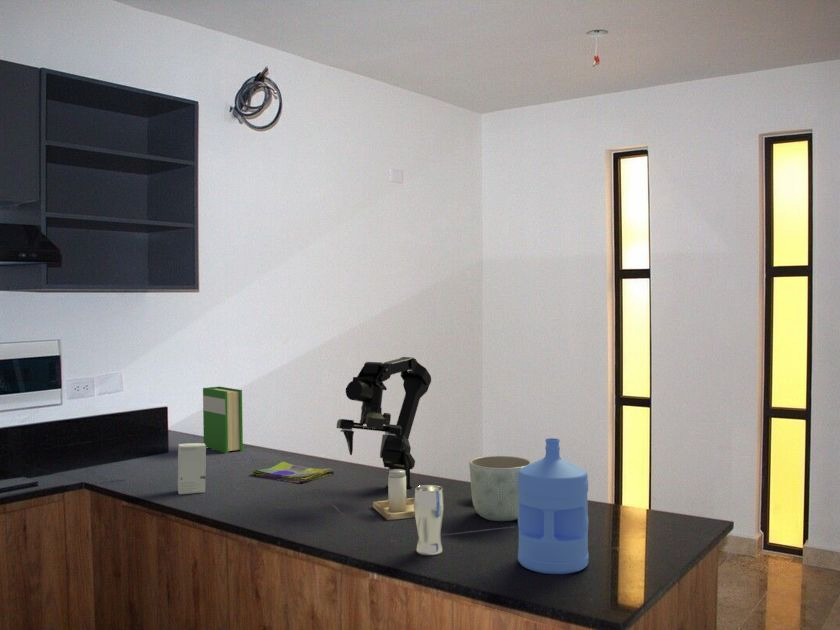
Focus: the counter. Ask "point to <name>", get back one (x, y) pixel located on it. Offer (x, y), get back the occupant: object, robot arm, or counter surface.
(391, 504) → the ball
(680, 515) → the counter surface
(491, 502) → the planter
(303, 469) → the dish towel
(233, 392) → the hardback book
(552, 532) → the water jug
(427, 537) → the beer glass
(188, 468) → the skincare box
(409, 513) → the tray
